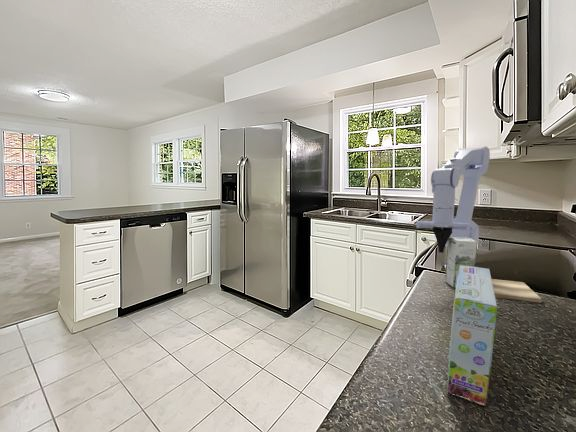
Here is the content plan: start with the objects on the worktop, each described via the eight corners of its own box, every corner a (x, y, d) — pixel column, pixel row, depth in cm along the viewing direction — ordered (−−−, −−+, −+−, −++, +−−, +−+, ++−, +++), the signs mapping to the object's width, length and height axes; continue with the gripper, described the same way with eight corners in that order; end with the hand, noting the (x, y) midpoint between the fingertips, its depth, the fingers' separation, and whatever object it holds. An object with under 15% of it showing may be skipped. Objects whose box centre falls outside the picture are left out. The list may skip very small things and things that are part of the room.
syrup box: (463, 282, 92) (466, 236, 90) (473, 288, 86) (477, 240, 84) (444, 281, 92) (447, 236, 91) (453, 288, 86) (456, 240, 85)
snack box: (491, 411, 40) (499, 306, 38) (445, 395, 43) (451, 297, 41) (485, 340, 58) (490, 266, 56) (452, 333, 61) (456, 262, 59)
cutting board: (469, 279, 94) (469, 276, 94) (523, 285, 88) (523, 282, 88) (478, 295, 81) (478, 291, 81) (541, 302, 76) (542, 299, 76)
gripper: (417, 208, 88) (415, 252, 89) (473, 210, 82) (470, 257, 84) (417, 206, 94) (415, 247, 96) (469, 208, 88) (466, 251, 90)
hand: (440, 251), depth 90 cm, fingers closed
